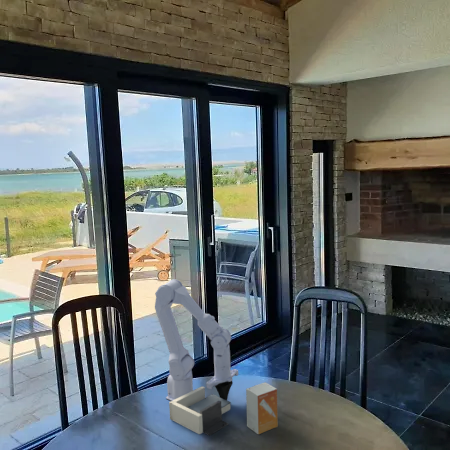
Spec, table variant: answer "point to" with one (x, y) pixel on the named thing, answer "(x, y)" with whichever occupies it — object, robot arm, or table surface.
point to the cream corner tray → (188, 410)
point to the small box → (261, 407)
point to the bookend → (212, 418)
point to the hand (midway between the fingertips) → (223, 400)
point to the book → (208, 401)
